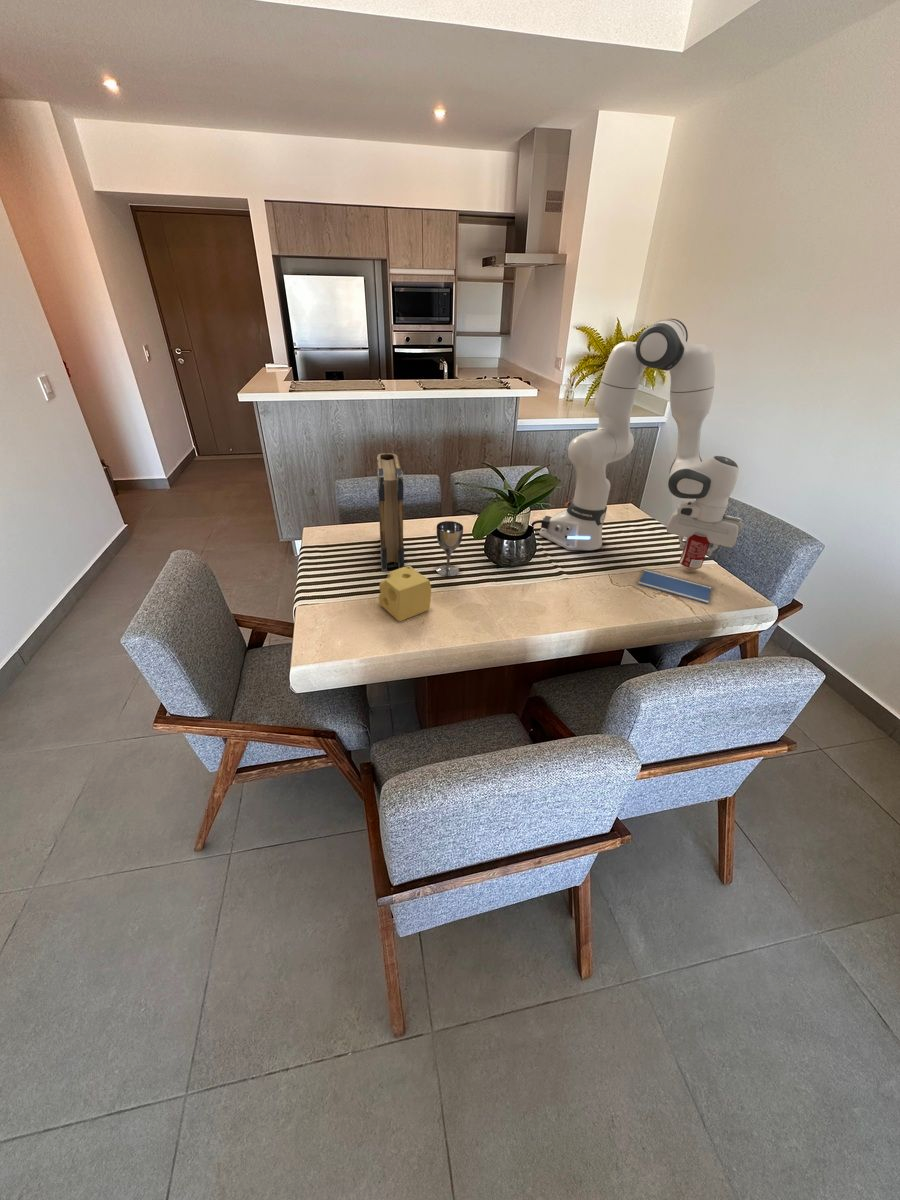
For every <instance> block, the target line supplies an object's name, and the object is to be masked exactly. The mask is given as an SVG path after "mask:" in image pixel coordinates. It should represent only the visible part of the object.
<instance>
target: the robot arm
mask: <svg viewBox="0 0 900 1200" xmlns="http://www.w3.org/2000/svg"><path fill="white" fill-rule="evenodd" d="M688 338H689V333H688V329H687V327H686V325H685V324H684V323H683V322H682V321H680V320H679V319H676V318H666V319H660V320H658V321H656V322H654V323H652V324H650V325H648V326H647V327H646V328H645V329H643V330H642V332H641V333H640V334H639V336H638V337H637V340H636V341H628V340H627V341H622V342H619V343H618V344H616V345H614V347H613V348H612V350H611V352H610V354H609V356H608V359H607V361H606V363H605V366H604V368H603V372H602V374H601V375H602V376H601V379H600V382H599V386H598V390H597V393H596V397H595V401H594V410H595V412H596V413H597V415H598V426H597V429H596V430H590V431H587V432H584V433H583V432H582V434H579V435H578V436H576V437H575V438H573V439H572V440H571V441H570V443H569V445H568V448H567V455H568V456H567V458H568V460H569V461H570V464H572V466H573V467H574V469H575V475H576V476H575V477H576V481H575V488H574V495H573V498H572V499H571V500H569V501H568V502H566V503H565V506H564V507H565V508H566V509H564V510H562V511H560V512H558V513H556V514H554V515H553V516H550V515H545V516H544V517H543V519H539V520H534V521H533V522H532V523H531V524H530V526H531V525H532V526H533V527H535V525H537V524H541V525H540V528H541V529H540V530H539V532H538V534H539V536H541V537H542V538H544V539H546V540H548V541H550V542H552V543H554V544H556V545H558V546H560V547H562V548H564V549H566V550H568V551H577V550H578V551H595V550H596V551H597V550H599V549H600V548H602V547H603V527H604V526H603V525H604V523H605V519H606V516H607V510H608V506H607V504H608V499H609V495H610V492H611V491H610V490H611V488H612V487H611V482H610V480H609V479H608V478H607V476H606V475H607V474H606V473H607V472H606V471H607V466H608V464H612V463H615V462H618V461H621V460H622V459H624V458H625V457H627V456H628V455H629V454H631V452H632V450H633V448H634V445H635V439H634V436H633V433H632V432H631V415H632V411H633V407H634V403H635V400H636V396H637V394H638V389H639V386H640V383H641V380H642V377H643V375H644V372H645V370H646V369H647V368H651V369H656V370H661V371H664V372H665V371H666V372H669V374H670V387H669V388H670V389H669V403H670V405H669V406H670V412H671V416H672V418H673V420H674V421H675V423H676V426H677V444H676V445H677V446H676V455H675V458H674V460H673V462H672V464H671V465H670V468H669V477H668V482H667V486H668V490H669V492H670V494H671V495H673V496H674V497H676V498H678V499H687V500H683V501H681V502H679V503H678V505H677V506H676V510H675V511H673V513H672V515H671V517H670V519H669V521H668V523H667V526H666V528H665V530H666V532H667V534H671V535H675V536H678V542H679V546H678V549H680V550H683V549H684V547H685V543H686V542H684V538H687V537H688V538H689V537H690V536H692V535H694V533H696V534H698V535H702V536H708V537H707V539H708V541H709V543H710V544H713V545H712V547H708V550H707V553H706V556H707V557H708V556H709V557H711V556H712V553H713V552H714V551H716V550H717V549H719V546H722V547H727V548H732V547H734V546H735V545H736V543H737V540H738V535H739V533H740V532H741V531H742V530H743V528H744V525H745V522H744V520H743V519H741V518H740V517H738V516H733V515H729V514H726V511H727V509H728V506H729V498H730V496H731V495H732V494H733V491H734V489H735V486H736V483H737V480H738V478H739V477H738V476H739V469H740V468H739V466H738V463H737V462H736V461H734V460H732V459H731V458H728V457H725V456H722V455H714V456H712V457H711V458H708V459H705V460H702V458H701V453H700V444H701V434H702V433H701V432H702V426H703V423H704V420H705V419H706V417H707V416H708V414H709V413H710V409H711V407H712V402H713V398H714V391H715V377H716V375H715V373H716V372H715V370H716V369H715V357H714V352H713V350H712V348H711V347H710V346H708V345H706V344H703V343H689V342H688ZM463 511H464V512H468V513H470V514H475V515H479V514H480V513H482V512H480V511H476V510H472V509H469V508H464V507H461V508H458V509H456V510H455V513H459V512H463Z"/></svg>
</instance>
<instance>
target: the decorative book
mask: <svg viewBox="0 0 900 1200" xmlns="http://www.w3.org/2000/svg"><path fill="white" fill-rule="evenodd" d="M376 474H377V475H376V477H377V494H378V495H377V496H378V497H377V498H378V517H379V541H380V550H379V551H380V567H381V571H382V572H384V571H385V572H386V571H388V564H389V563H393V562H394V564H396V563H397V565H398V569H399V568H403V567H405V547H404V546H405V545H404V499H405V498H404V497H405V496H404V472H403V469H402V467H401V465H400V461H399V456H398V455H397V454H396V453H390V452H389V453H388V452H387V453H386V452H384V453H383V452H382V453H377V455H376Z"/></svg>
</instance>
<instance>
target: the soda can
mask: <svg viewBox="0 0 900 1200" xmlns="http://www.w3.org/2000/svg"><path fill="white" fill-rule="evenodd" d="M707 537H708V536H702V535H698V534H696V533H694V535H692V536H690V537H689V538H688V537H686V540H685V542H684V543H685V547H684V549H682V553H681V556H680V558H679V564H680V565H681V566H682V567H684V568H685V569H688V570H698V569H701V568H702V566H703V563H704V562H705V558H706V556H707V555H706V553H707V550H708V548H710V545H711V543H709V541H708V539H707Z"/></svg>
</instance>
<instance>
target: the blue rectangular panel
mask: <svg viewBox="0 0 900 1200" xmlns="http://www.w3.org/2000/svg"><path fill="white" fill-rule="evenodd" d="M641 575H642V576H641V577H640V579H639V581H638V586H642V587H645V588H649V589H653V590H655V591H660V592H662V593H667V594H671V595H674V596H677V597H680V598H685V599H688V600H692V601H695V602H699V603H702V604H706V605H708V604H709V600H710V595H711V592H712V591H711V590H712V586H710V585H706V584H703V583H699V582H695V581H691V580H688V579H684V578H680V577H678V576H677V577H676V576H673V575H668V574H665V573H661V572H658V571H654V570H651V569H646V568H645V569H644V571H643V573H642V574H641Z"/></svg>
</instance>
